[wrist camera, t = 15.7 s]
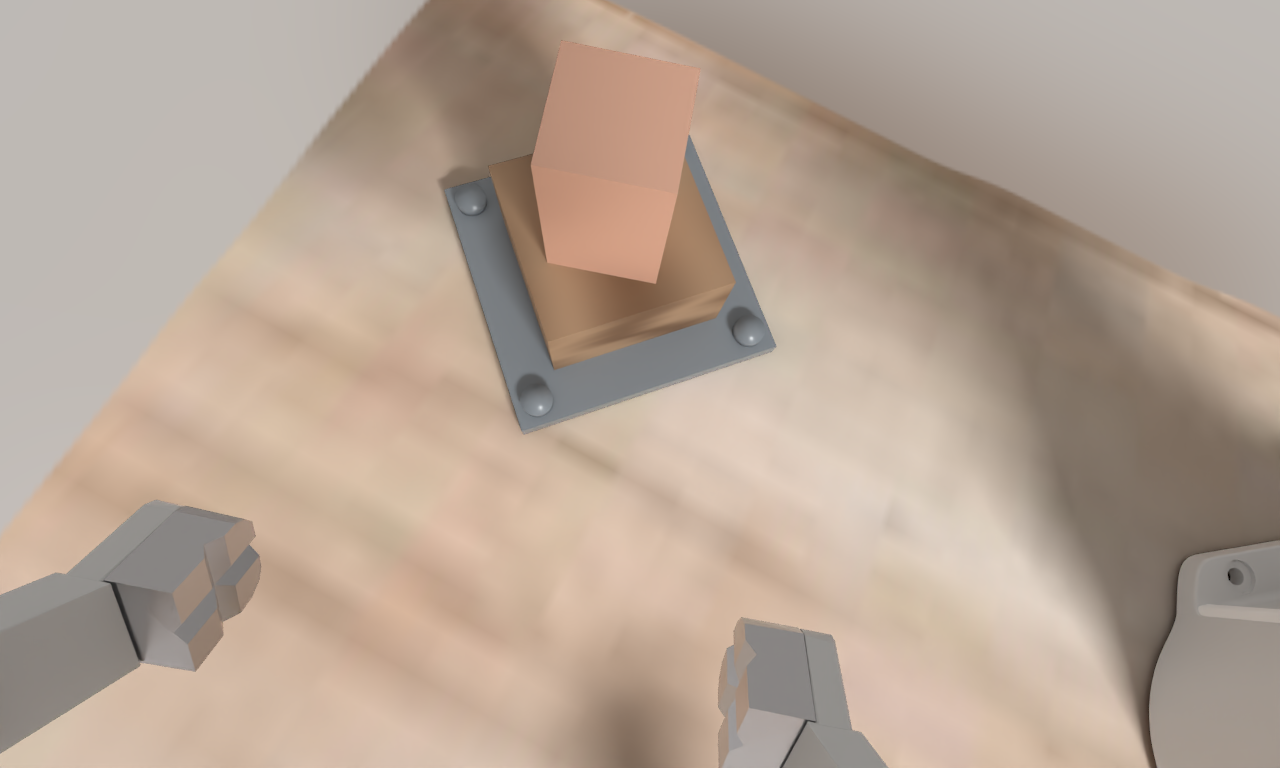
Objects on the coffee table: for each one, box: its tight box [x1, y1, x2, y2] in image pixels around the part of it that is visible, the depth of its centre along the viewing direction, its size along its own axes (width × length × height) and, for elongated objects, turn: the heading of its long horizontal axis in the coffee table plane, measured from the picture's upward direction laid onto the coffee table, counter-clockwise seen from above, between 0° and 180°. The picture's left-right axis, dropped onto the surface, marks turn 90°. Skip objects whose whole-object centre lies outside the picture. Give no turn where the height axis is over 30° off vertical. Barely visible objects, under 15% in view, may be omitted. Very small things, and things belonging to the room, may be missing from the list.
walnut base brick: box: [488, 154, 736, 370], centre depth 33 cm, size 9×9×5 cm
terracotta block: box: [531, 40, 700, 284], centre depth 26 cm, size 5×5×8 cm
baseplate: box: [445, 135, 776, 434], centre depth 35 cm, size 14×14×2 cm
